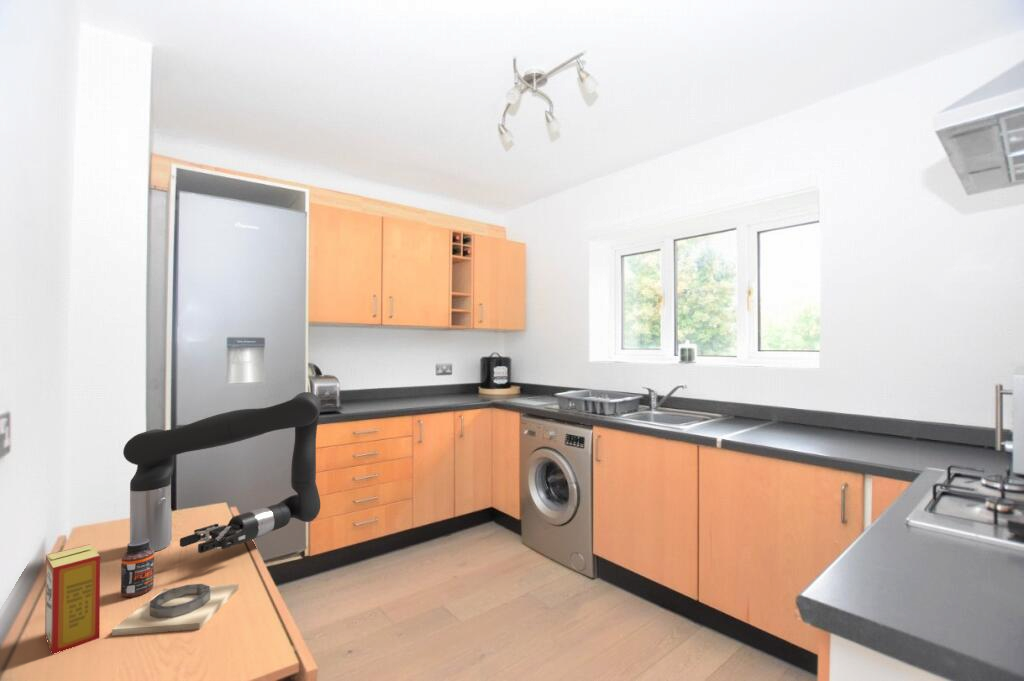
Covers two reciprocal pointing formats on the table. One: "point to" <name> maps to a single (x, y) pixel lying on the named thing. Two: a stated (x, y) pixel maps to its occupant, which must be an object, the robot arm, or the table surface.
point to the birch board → (191, 621)
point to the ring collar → (180, 609)
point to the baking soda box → (72, 597)
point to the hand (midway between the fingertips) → (189, 546)
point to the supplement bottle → (137, 569)
